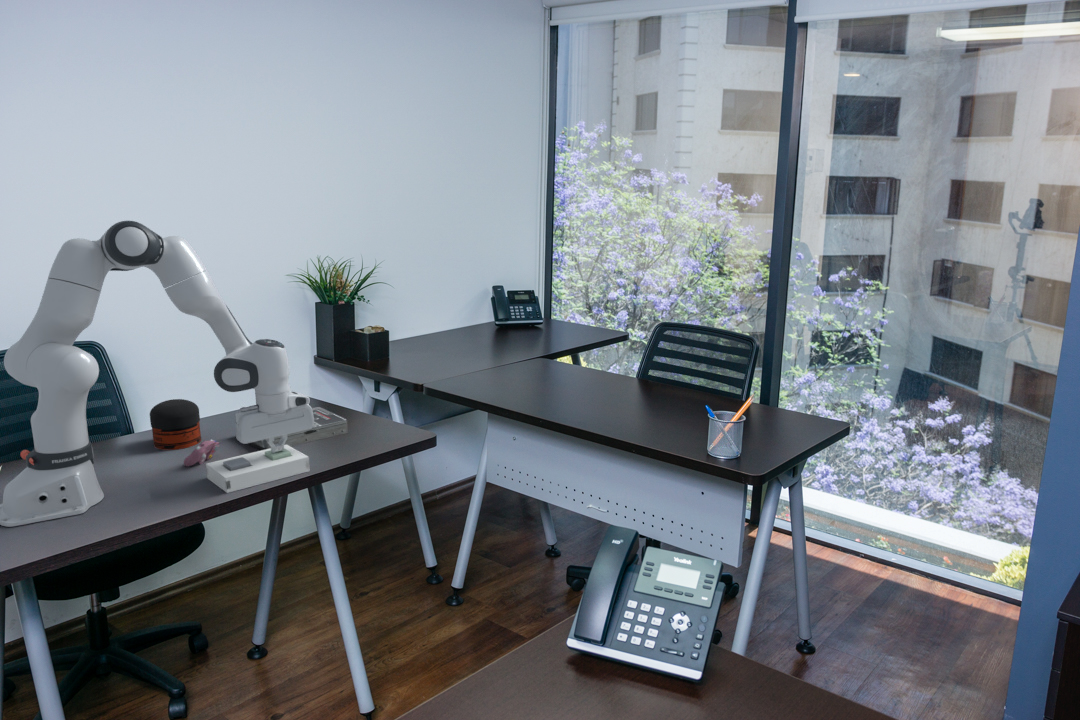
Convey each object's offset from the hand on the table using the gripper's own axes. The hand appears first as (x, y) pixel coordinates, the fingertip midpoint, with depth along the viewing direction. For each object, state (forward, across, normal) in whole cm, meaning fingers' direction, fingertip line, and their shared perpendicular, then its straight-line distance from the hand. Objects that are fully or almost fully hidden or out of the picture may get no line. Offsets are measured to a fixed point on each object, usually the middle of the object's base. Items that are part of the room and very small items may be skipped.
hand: (277, 451), depth 213 cm
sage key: (+3, 0, 0) cm, 3 cm away
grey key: (+3, -11, 0) cm, 11 cm away
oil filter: (+5, -12, +40) cm, 42 cm away
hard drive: (+6, +16, +24) cm, 30 cm away
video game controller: (+5, -13, +20) cm, 24 cm away
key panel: (+5, -6, 0) cm, 7 cm away
